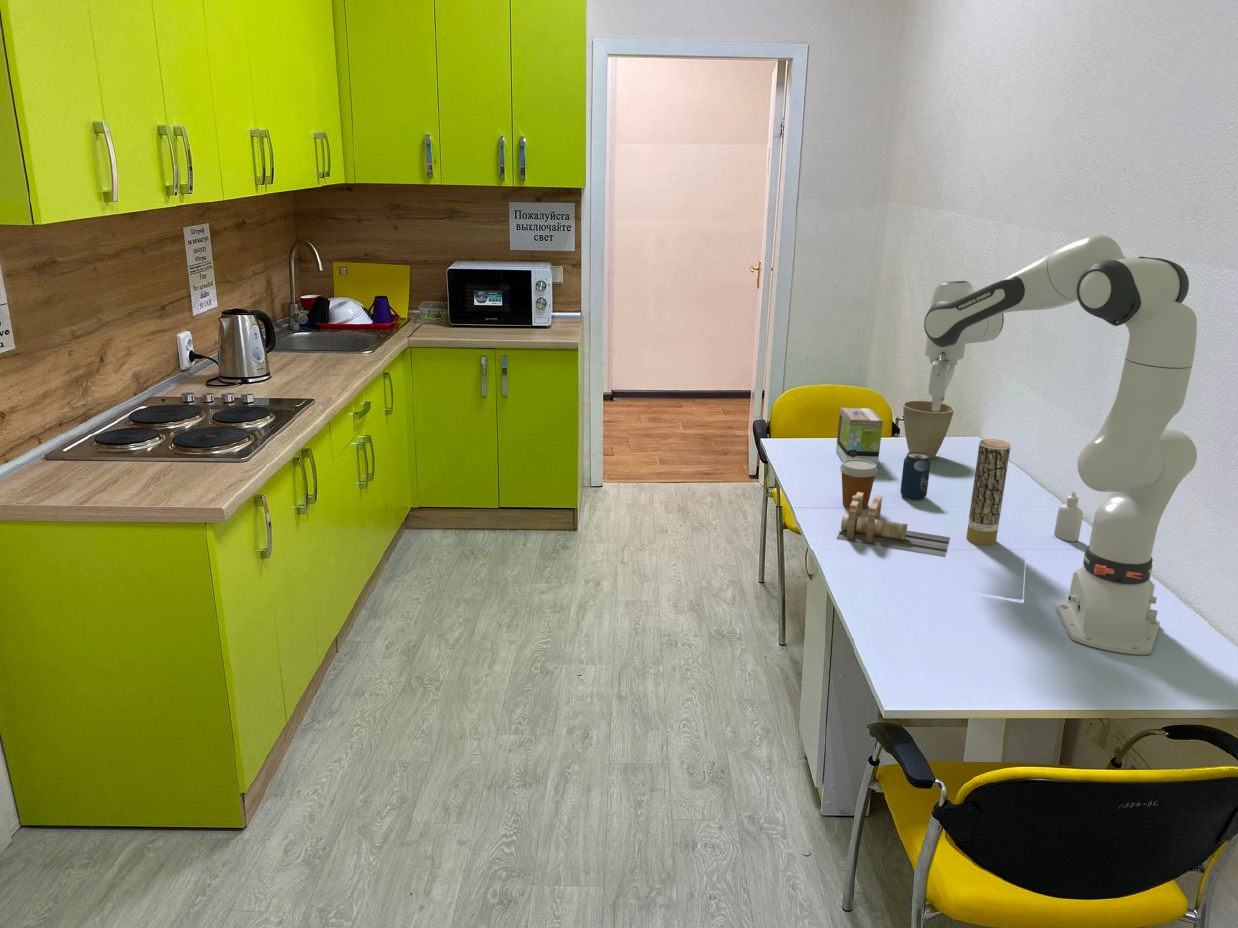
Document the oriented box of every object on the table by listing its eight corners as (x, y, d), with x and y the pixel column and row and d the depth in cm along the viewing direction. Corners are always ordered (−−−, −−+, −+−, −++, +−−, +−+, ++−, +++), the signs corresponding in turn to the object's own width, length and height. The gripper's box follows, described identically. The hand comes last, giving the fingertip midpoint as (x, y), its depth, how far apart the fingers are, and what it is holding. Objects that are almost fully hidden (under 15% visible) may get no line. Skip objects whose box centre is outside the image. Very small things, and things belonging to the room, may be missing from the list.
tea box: (878, 468, 284) (884, 420, 280) (845, 467, 284) (849, 419, 280) (867, 452, 298) (871, 407, 294) (834, 452, 298) (839, 406, 294)
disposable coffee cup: (859, 516, 246) (863, 472, 242) (829, 506, 252) (833, 463, 249) (880, 508, 252) (885, 465, 248) (850, 498, 258) (854, 456, 255)
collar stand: (944, 559, 220) (949, 520, 217) (835, 541, 230) (839, 503, 227) (949, 539, 232) (954, 502, 229) (846, 523, 241) (849, 486, 238)
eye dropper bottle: (1068, 533, 237) (1077, 488, 233) (1080, 542, 231) (1088, 496, 228) (1051, 533, 236) (1059, 488, 233) (1062, 542, 231) (1071, 496, 227)
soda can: (925, 502, 256) (931, 460, 252) (899, 499, 258) (903, 457, 254) (926, 494, 262) (931, 453, 259) (900, 491, 264) (905, 450, 261)
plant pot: (946, 466, 287) (953, 414, 282) (895, 459, 292) (901, 409, 287) (948, 452, 300) (955, 403, 295) (900, 446, 305) (905, 398, 300)
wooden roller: (905, 537, 231) (907, 521, 230) (903, 543, 228) (905, 527, 226) (843, 527, 237) (845, 512, 235) (840, 532, 233) (842, 517, 232)
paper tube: (997, 549, 227) (1013, 448, 219) (967, 546, 228) (982, 446, 220) (993, 538, 233) (1007, 440, 225) (964, 535, 234) (977, 438, 226)
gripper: (954, 358, 216) (947, 417, 220) (962, 343, 234) (955, 398, 238) (925, 356, 218) (919, 414, 222) (935, 341, 236) (928, 395, 240)
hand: (937, 406), depth 230 cm, fingers open, 8 cm apart
